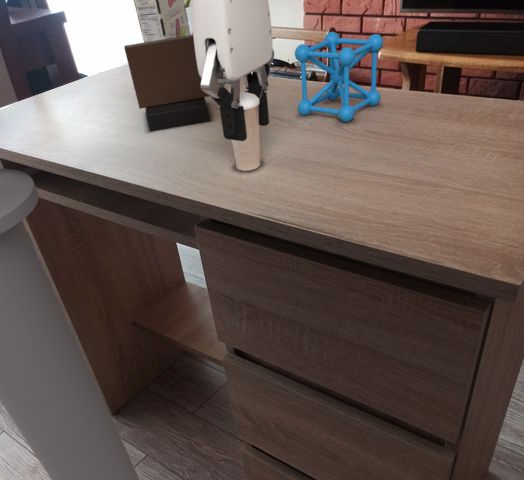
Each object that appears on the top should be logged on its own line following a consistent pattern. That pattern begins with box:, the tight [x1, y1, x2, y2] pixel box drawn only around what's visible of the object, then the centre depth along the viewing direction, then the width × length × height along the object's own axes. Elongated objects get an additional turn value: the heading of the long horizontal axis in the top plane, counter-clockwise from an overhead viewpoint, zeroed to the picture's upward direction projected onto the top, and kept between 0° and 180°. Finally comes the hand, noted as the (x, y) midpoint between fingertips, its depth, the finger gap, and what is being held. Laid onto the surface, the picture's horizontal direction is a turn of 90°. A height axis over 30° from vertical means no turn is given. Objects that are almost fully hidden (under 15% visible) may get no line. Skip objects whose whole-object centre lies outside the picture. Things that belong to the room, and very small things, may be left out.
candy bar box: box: [133, 0, 191, 43], centre depth 98 cm, size 11×5×16 cm, turn 164°
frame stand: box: [145, 97, 210, 132], centre depth 88 cm, size 10×10×2 cm
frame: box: [123, 32, 211, 109], centre depth 84 cm, size 12×2×9 cm, turn 102°
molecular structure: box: [294, 31, 384, 123], centre depth 80 cm, size 10×10×10 cm
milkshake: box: [231, 84, 265, 172], centre depth 67 cm, size 5×5×10 cm
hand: (246, 130), depth 67 cm, fingers closed on milkshake, 4 cm apart
